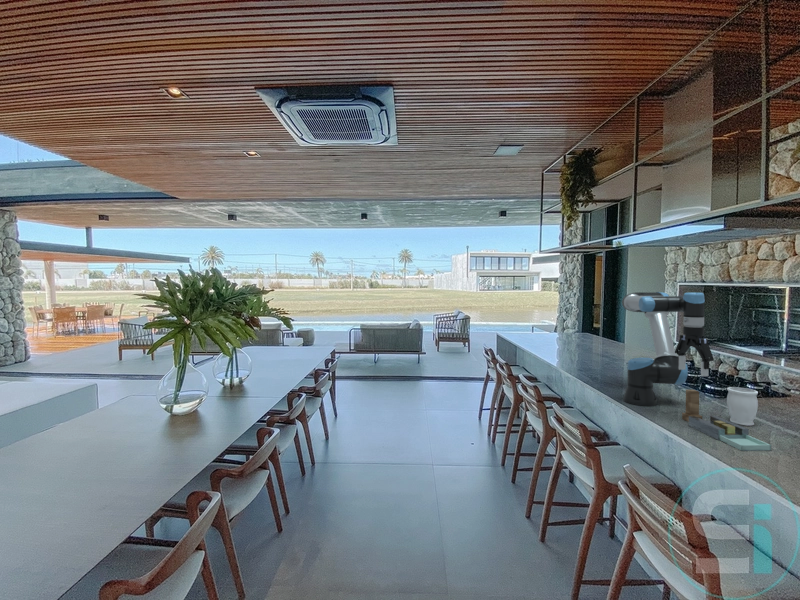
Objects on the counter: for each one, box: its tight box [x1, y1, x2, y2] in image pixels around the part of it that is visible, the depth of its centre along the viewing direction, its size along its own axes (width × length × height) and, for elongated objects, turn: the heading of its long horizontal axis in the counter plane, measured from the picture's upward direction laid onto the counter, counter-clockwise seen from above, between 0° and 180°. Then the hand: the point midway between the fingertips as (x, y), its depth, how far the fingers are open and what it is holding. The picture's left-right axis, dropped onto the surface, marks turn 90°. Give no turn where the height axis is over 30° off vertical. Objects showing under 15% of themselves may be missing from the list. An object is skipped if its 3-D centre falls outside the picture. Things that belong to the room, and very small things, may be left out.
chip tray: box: [718, 434, 772, 452], centre depth 149 cm, size 10×11×2 cm
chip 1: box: [714, 421, 727, 428], centre depth 160 cm, size 3×3×3 cm
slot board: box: [688, 415, 750, 441], centre depth 162 cm, size 16×12×4 cm
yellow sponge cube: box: [721, 424, 735, 434], centre depth 156 cm, size 3×3×3 cm
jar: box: [726, 386, 759, 427], centre depth 172 cm, size 11×10×15 cm
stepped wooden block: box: [681, 389, 703, 423], centre depth 176 cm, size 5×6×14 cm
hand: (692, 372), depth 175 cm, fingers open, 13 cm apart
